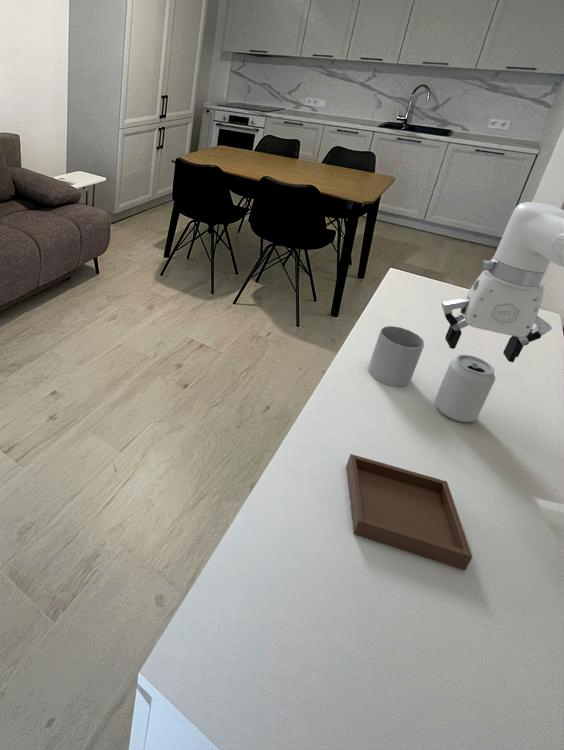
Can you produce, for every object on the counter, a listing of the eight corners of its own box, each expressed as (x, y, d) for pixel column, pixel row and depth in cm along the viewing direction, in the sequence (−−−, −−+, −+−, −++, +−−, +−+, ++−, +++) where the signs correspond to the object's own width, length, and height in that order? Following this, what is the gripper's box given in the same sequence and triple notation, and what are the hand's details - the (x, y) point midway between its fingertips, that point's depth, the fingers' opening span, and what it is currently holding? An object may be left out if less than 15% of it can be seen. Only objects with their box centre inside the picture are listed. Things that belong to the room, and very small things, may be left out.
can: (438, 419, 98) (460, 369, 93) (428, 395, 104) (448, 348, 100) (481, 429, 96) (505, 379, 91) (468, 404, 103) (490, 356, 98)
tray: (441, 493, 81) (447, 481, 80) (465, 570, 69) (472, 557, 68) (346, 465, 85) (350, 453, 84) (353, 533, 73) (358, 520, 72)
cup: (378, 358, 116) (390, 322, 112) (415, 377, 110) (430, 339, 106) (361, 371, 111) (374, 334, 107) (400, 392, 105) (414, 352, 101)
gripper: (466, 270, 87) (432, 350, 94) (584, 292, 82) (539, 375, 89) (454, 254, 93) (424, 330, 100) (563, 273, 89) (523, 352, 96)
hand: (478, 351), depth 95 cm, fingers open, 9 cm apart
